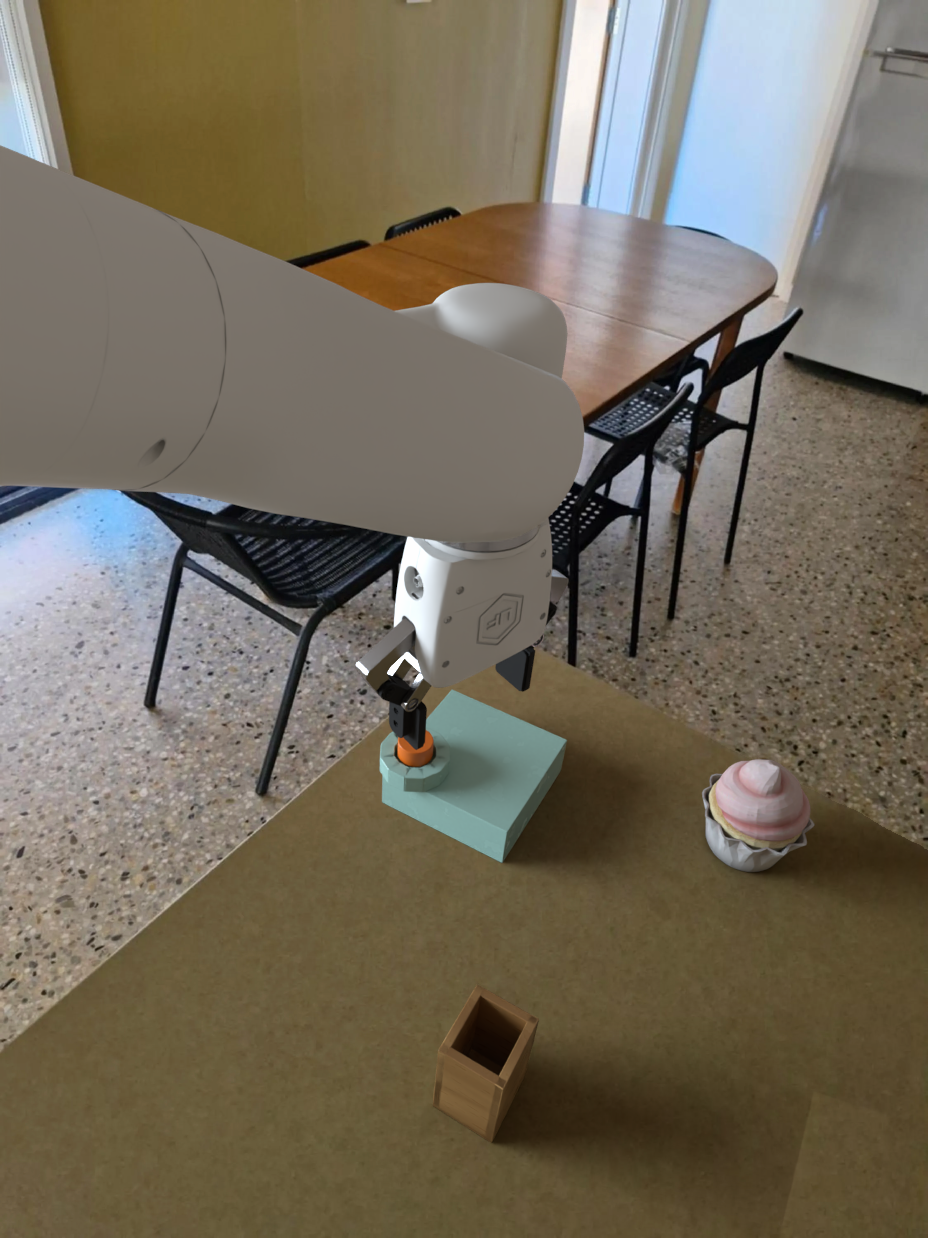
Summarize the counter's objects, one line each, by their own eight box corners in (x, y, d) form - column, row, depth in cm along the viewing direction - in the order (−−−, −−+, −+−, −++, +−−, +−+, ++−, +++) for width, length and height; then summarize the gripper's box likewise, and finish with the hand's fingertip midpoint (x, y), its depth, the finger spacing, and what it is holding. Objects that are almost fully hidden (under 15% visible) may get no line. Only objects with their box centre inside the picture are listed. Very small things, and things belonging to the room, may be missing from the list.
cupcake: (795, 904, 73) (836, 828, 67) (682, 870, 75) (711, 793, 69) (798, 818, 80) (835, 742, 74) (694, 789, 82) (722, 713, 76)
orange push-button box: (497, 871, 74) (504, 826, 70) (366, 805, 78) (366, 759, 74) (560, 770, 83) (570, 725, 79) (440, 716, 87) (444, 671, 83)
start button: (421, 772, 74) (421, 758, 73) (390, 758, 75) (391, 743, 74) (439, 750, 76) (440, 736, 75) (409, 736, 77) (410, 722, 76)
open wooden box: (491, 1144, 57) (503, 1090, 52) (431, 1106, 59) (437, 1050, 54) (525, 1075, 61) (539, 1018, 56) (468, 1041, 62) (476, 983, 57)
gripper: (399, 585, 46) (394, 796, 57) (624, 490, 55) (582, 688, 66) (322, 519, 51) (330, 727, 61) (542, 441, 60) (516, 634, 70)
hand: (461, 707), depth 64 cm, fingers open, 9 cm apart
